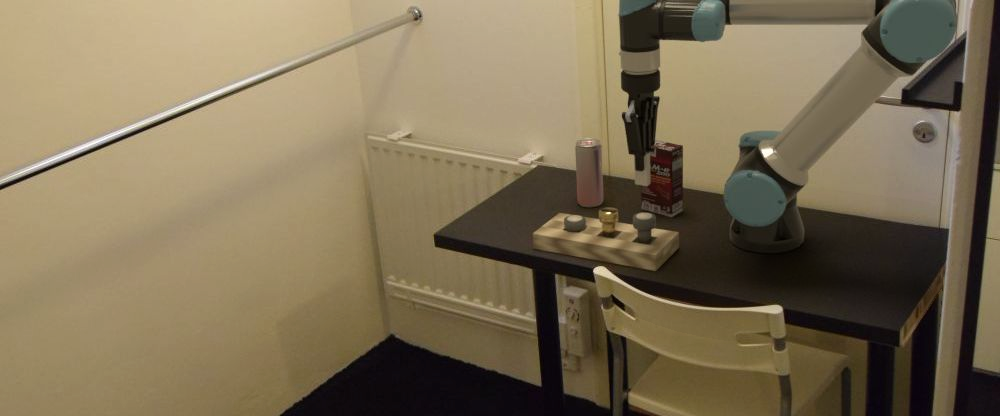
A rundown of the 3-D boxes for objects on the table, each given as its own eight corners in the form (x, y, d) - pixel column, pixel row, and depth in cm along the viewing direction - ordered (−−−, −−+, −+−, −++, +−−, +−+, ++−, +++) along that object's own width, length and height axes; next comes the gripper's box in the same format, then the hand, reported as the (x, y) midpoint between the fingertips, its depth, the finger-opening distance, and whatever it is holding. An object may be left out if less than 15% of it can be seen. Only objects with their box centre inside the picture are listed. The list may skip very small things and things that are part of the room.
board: (678, 247, 220) (678, 232, 219) (655, 271, 211) (655, 255, 210) (560, 227, 234) (559, 212, 233) (533, 248, 225) (532, 233, 224)
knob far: (590, 239, 227) (589, 215, 224) (580, 247, 223) (579, 223, 221) (571, 236, 229) (570, 212, 227) (561, 244, 225) (560, 220, 223)
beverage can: (578, 198, 249) (575, 138, 243) (604, 198, 248) (601, 137, 242) (577, 208, 244) (574, 146, 238) (602, 208, 243) (600, 146, 237)
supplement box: (640, 210, 240) (638, 143, 234) (652, 203, 243) (651, 137, 237) (671, 218, 235) (671, 150, 228) (684, 211, 238) (684, 144, 232)
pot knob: (622, 232, 221) (621, 207, 219) (613, 239, 218) (613, 214, 216) (604, 229, 223) (604, 204, 221) (596, 236, 220) (595, 211, 218)
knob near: (659, 237, 217) (659, 213, 215) (650, 246, 214) (650, 221, 212) (639, 234, 220) (638, 210, 218) (629, 243, 216) (629, 218, 214)
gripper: (636, 59, 210) (639, 170, 219) (607, 76, 200) (611, 192, 209) (671, 62, 206) (672, 175, 215) (644, 80, 196) (646, 197, 205)
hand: (642, 183), depth 212 cm, fingers closed
